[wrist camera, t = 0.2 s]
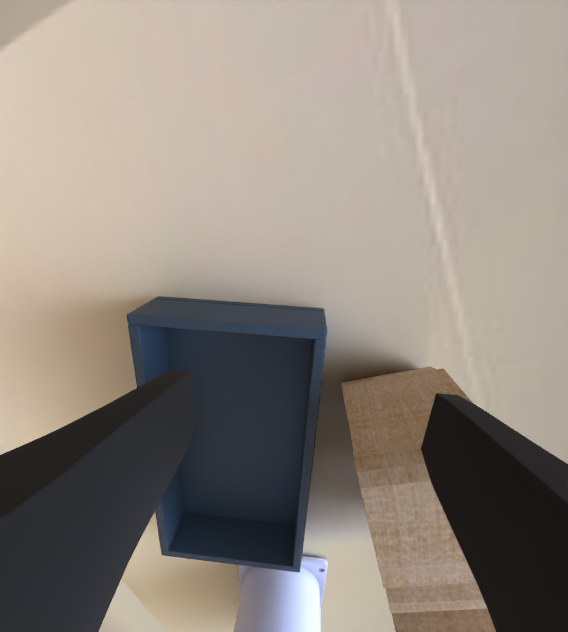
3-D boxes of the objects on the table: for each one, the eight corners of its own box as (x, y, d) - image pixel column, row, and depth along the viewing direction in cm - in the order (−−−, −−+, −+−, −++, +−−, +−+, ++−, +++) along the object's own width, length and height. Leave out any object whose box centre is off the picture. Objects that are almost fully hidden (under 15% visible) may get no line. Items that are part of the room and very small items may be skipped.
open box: (301, 525, 25) (300, 573, 22) (180, 511, 25) (161, 555, 22) (323, 308, 18) (327, 330, 15) (158, 296, 19) (126, 314, 15)
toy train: (374, 526, 24) (416, 725, 15) (333, 347, 19) (358, 482, 9) (444, 519, 23) (536, 727, 14) (421, 330, 18) (544, 459, 9)
